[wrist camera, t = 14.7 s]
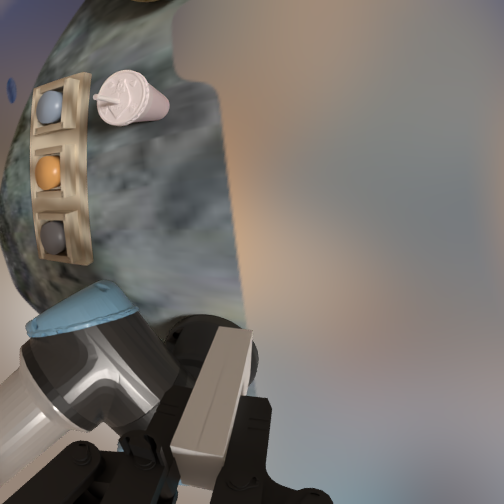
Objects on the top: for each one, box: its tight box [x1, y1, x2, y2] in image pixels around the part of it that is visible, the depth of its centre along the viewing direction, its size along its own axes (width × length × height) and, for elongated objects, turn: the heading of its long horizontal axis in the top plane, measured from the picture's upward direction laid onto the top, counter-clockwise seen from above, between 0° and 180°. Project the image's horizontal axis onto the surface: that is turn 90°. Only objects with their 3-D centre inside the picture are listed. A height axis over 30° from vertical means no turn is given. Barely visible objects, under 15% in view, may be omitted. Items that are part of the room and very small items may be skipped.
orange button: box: [35, 155, 61, 190], centre depth 35 cm, size 5×5×2 cm
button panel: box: [30, 72, 94, 266], centre depth 37 cm, size 30×12×4 cm, turn 177°
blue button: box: [36, 91, 63, 124], centre depth 32 cm, size 5×5×2 cm
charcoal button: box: [40, 220, 67, 255], centre depth 38 cm, size 5×5×2 cm
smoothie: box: [93, 70, 169, 126], centre depth 28 cm, size 6×6×14 cm
